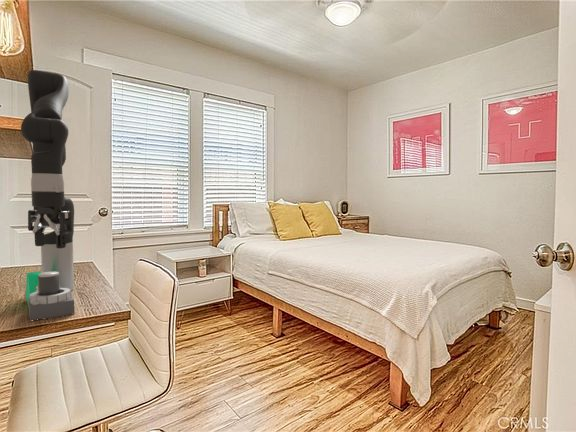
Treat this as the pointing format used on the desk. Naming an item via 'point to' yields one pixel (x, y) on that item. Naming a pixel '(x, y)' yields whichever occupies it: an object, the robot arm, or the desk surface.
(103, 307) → the desk surface
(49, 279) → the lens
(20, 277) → the desk surface
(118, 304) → the desk surface
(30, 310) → the segmented ring socket plate
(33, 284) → the camera mount
